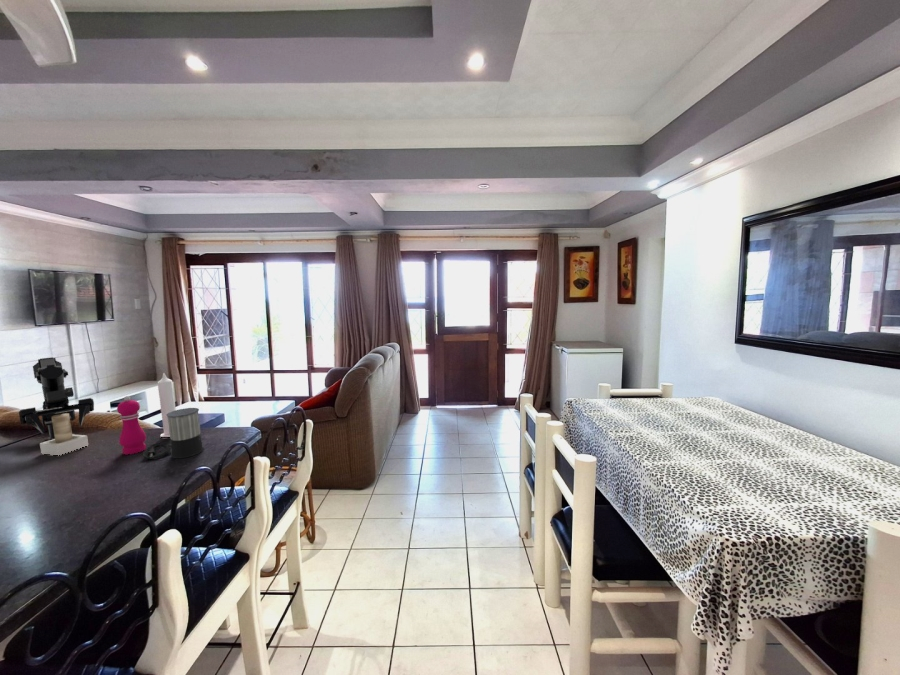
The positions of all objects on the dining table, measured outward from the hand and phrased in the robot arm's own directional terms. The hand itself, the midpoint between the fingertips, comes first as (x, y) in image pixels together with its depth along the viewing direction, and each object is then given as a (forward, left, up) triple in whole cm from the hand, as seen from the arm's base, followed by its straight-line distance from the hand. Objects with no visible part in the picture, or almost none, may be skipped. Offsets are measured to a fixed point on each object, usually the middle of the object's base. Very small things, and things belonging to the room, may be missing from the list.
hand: (62, 429), depth 133 cm
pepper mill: (+27, +5, -8) cm, 28 cm away
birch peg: (-1, +1, -8) cm, 8 cm away
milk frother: (+45, +5, -8) cm, 46 cm away
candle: (+25, +20, -8) cm, 33 cm away
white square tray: (-1, +1, -8) cm, 8 cm away
